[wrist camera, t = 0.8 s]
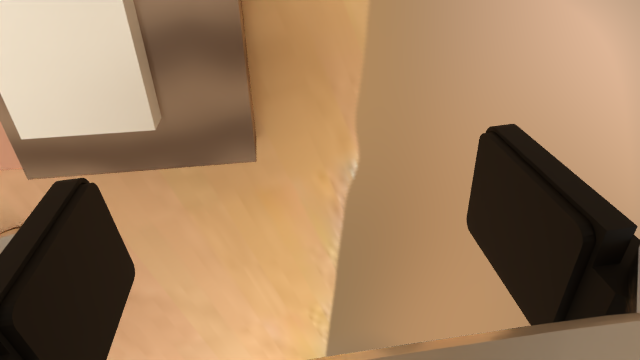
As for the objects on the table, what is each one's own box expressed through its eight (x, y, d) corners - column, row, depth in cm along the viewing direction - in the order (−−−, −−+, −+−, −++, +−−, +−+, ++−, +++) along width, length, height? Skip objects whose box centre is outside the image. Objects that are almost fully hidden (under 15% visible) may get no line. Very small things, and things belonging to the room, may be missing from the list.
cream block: (161, 117, 28) (155, 130, 26) (35, 125, 27) (21, 139, 25) (130, -12, 23) (120, -7, 22) (-21, -7, 22) (-43, -1, 21)
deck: (256, 137, 34) (256, 161, 30) (51, 152, 32) (27, 179, 29) (230, -96, 25) (227, -98, 22) (-51, -92, 23) (-102, -94, 20)
